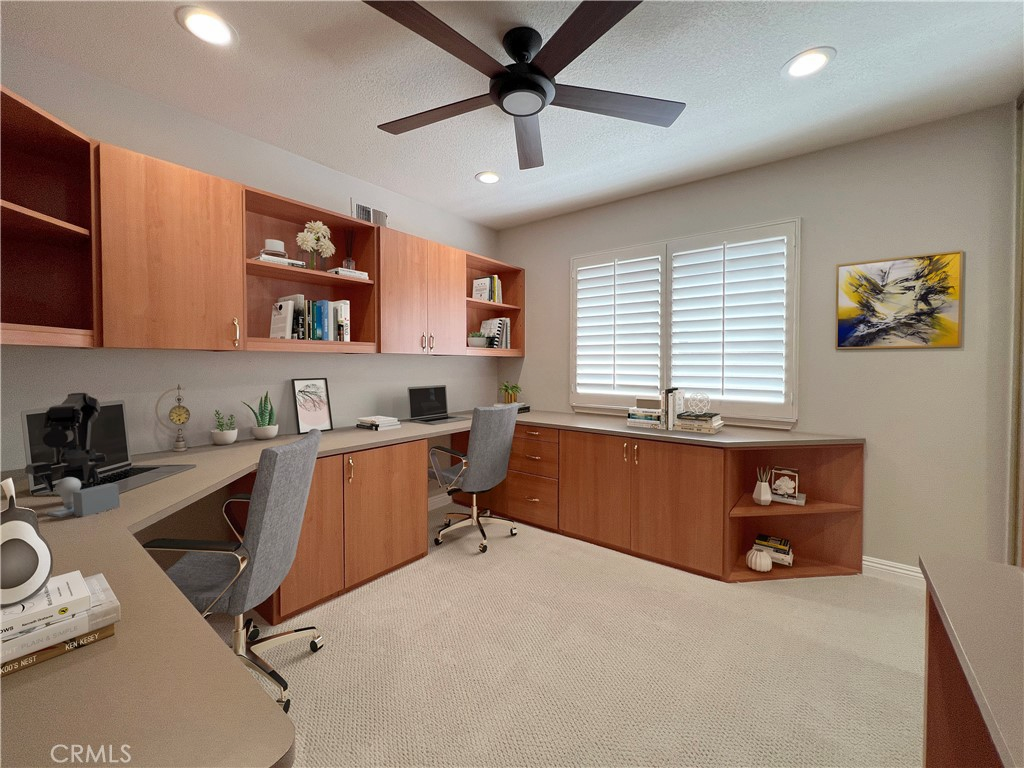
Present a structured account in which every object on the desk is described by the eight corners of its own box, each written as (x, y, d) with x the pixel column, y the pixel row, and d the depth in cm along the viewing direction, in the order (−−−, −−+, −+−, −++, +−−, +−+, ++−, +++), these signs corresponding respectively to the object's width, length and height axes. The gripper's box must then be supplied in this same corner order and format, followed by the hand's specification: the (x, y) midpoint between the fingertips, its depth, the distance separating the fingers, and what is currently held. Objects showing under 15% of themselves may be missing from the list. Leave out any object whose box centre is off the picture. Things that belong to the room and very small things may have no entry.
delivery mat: (46, 514, 144) (46, 511, 144) (80, 505, 152) (80, 503, 152) (61, 517, 140) (61, 514, 140) (96, 508, 149) (95, 505, 149)
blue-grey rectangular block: (73, 515, 142) (71, 491, 142) (110, 505, 152) (108, 483, 151) (83, 516, 141) (81, 493, 140) (119, 506, 150) (118, 484, 149)
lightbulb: (65, 512, 142) (63, 480, 142) (51, 511, 144) (49, 479, 143) (87, 506, 148) (85, 475, 148) (74, 505, 150) (72, 474, 149)
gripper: (41, 449, 133) (45, 498, 134) (114, 438, 151) (117, 482, 152) (22, 447, 137) (26, 495, 138) (95, 437, 155) (98, 479, 156)
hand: (69, 487), depth 146 cm, fingers open, 9 cm apart
